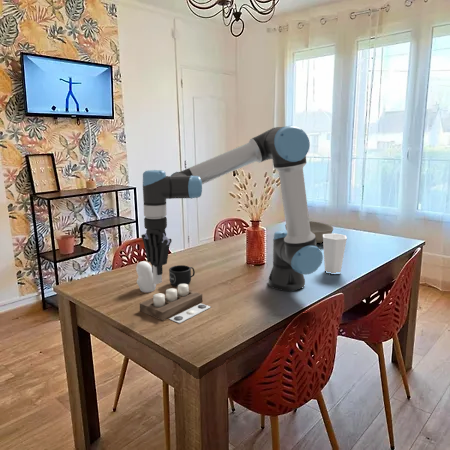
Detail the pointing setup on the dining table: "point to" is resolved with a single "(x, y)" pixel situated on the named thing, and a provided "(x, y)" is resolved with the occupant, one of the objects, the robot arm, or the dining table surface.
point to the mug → (180, 275)
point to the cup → (333, 251)
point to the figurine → (145, 277)
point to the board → (171, 305)
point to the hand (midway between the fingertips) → (157, 282)
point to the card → (189, 313)
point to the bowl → (319, 230)
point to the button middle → (171, 295)
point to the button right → (183, 290)
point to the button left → (159, 300)
